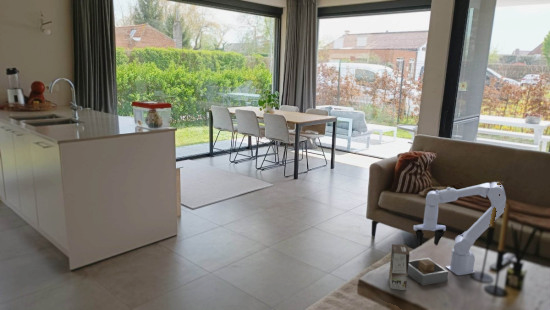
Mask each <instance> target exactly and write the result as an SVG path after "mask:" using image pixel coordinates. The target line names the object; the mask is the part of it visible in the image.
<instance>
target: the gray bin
mask: <svg viewBox="0 0 550 310" xmlns="http://www.w3.org/2000/svg"><path fill="white" fill-rule="evenodd" d="M426 259H428V260H430V261H431V262H432V263H434V273H428V274H423V273H421V272H420V271H419V270H418V266H419V260H426ZM407 276H409V277H411V278H412V279H413V280H415V281H416V282H417V283H418V284H419V285H421V286H426V285H432V284H433V285H434V284H438V283H443V282H448V278H449V270H448V269H447V268H446V269H445V268H444V267H443V266H441V265H440V264H438V263H436V261H434V260H432V259H431V258H430V257H424V258H416V259H411V260H410V259H409V265H408V274H407Z"/></svg>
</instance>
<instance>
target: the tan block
mask: <svg viewBox="0 0 550 310" xmlns="http://www.w3.org/2000/svg"><path fill="white" fill-rule="evenodd" d="M418 270H419V271H420V272H421V273H423V274H428V273H434V263H432V262H431V261H430V260H428V259H426V260H419V266H418Z"/></svg>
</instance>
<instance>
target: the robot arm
mask: <svg viewBox="0 0 550 310" xmlns="http://www.w3.org/2000/svg"><path fill="white" fill-rule="evenodd" d="M497 183H499V182H497V181H492V182H484V183H481V184H477V185H472V186H467V187H464V188H460V189H456V188H454V187H450V186H447V187H446V188H444V189H440V190H439V189H435V190H430V191H428V192H427V194H426V196H425V206H424V214H423V223H421V224H416V225H415V224H414V225H413V230H414V231H415V235H416V238H417V245H418V246H420V247H421V246H422V243H423V238H424V234H425V233H424V232H423V231H431V232H434V239H433V244H434V245H435V246H438V245H439V242H440V240H441V238H443V236H444V235H445V232H446V229H447V227H446V225H443V224H438V217H439V204H445V203H450V202H455V201H457V200H458V199H459V198H463V197H470V196H481V197H483V198H488V199H489V201H490V205H491V206H490V207H489V208H488V209H487V210H486V211H485V212H484V213H483V214H482V215H481V216H480V217H479V218H478V219H477V220H476V221H475V222H474V223H473V224H472V225H471V226H470V227H469V228H468V229H467V230H465V231H464V232H462V234H459V235H456V236H455V238H454V244H453V248H452V250H451V258H450V265H446V266H445V268H446V270H448V271H450V272H452V273H454V274H455V275H457V276H464V275H468V274H469V275H470V274H475V271H474V267H475V262H476V260H475V259H476V258H475V255H474V253H473V252H472V251H471V247H473V246H474V244H475V243H476V240H478V238H480V237H481V235H482V234H483V233H485V231H487V229H488V228H490V226H489V224H490V219H491V214H492V210H493V208H494V207H495V208H496V211H497V212H496V217H495V221H496V220H498V218H500V217H501V215H503V213H505V211H504V208H505V209H506V202H507V196H506V191H505V188H504V186H503V184H502V183H500V184H501V185H497ZM500 186H501V187H500ZM499 194H500V196H499Z"/></svg>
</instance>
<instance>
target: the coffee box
mask: <svg viewBox="0 0 550 310" xmlns="http://www.w3.org/2000/svg"><path fill="white" fill-rule="evenodd" d="M410 255H411V254H410V251H409V249H408V246H407V244H393V243H392V244H391V250H390V263H389V273H388V274H389V275H388V281H389V286H390V287H389V288H390V289H393V290H400V291H406V290H407V281H408V265H409V261H410Z"/></svg>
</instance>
